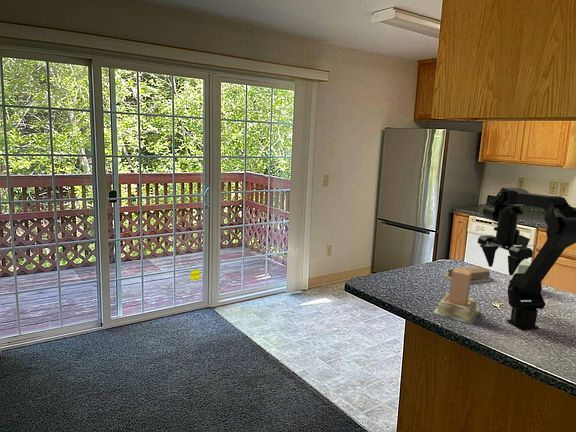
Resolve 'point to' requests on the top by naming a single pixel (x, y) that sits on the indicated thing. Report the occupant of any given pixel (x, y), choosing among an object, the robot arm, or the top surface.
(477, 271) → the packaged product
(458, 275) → the column block
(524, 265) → the small box
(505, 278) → the top surface
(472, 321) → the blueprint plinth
